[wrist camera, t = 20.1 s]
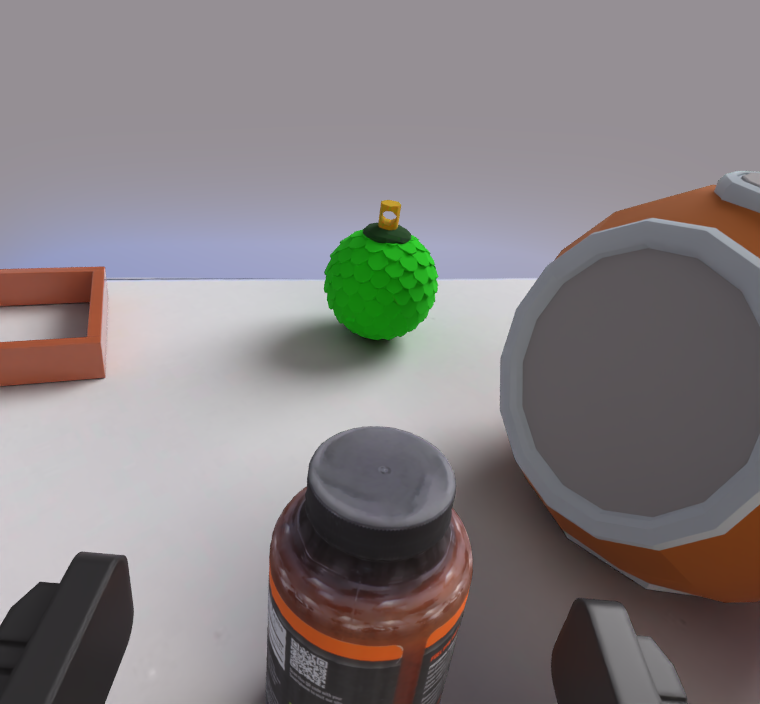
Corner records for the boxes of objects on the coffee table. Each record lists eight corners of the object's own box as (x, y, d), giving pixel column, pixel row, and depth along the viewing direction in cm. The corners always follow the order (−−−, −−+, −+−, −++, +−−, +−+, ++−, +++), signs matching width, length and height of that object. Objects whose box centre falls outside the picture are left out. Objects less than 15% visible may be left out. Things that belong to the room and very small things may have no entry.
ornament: (309, 351, 43) (319, 212, 38) (331, 302, 50) (341, 179, 45) (425, 370, 42) (450, 232, 37) (430, 318, 49) (452, 195, 44)
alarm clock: (421, 435, 36) (479, 129, 27) (623, 380, 44) (717, 132, 36) (702, 747, 22) (1002, 331, 14) (920, 583, 31) (1194, 259, 22)
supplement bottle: (427, 641, 25) (484, 414, 19) (435, 812, 20) (517, 572, 14) (278, 627, 24) (291, 393, 19) (247, 796, 19) (251, 545, 14)
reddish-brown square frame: (-117, 396, 34) (-130, 357, 32) (-67, 304, 42) (-77, 270, 41) (105, 378, 37) (100, 342, 36) (108, 297, 46) (105, 266, 45)
